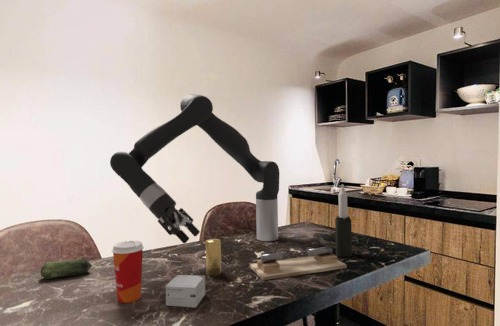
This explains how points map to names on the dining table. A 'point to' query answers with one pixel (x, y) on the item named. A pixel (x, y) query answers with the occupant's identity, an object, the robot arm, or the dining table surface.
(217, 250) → the cylinder
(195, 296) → the small box
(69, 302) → the dining table surface
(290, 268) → the shaft bench
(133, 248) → the paper cup
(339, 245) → the black and grey bottle
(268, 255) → the shafts
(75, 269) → the vegetable
